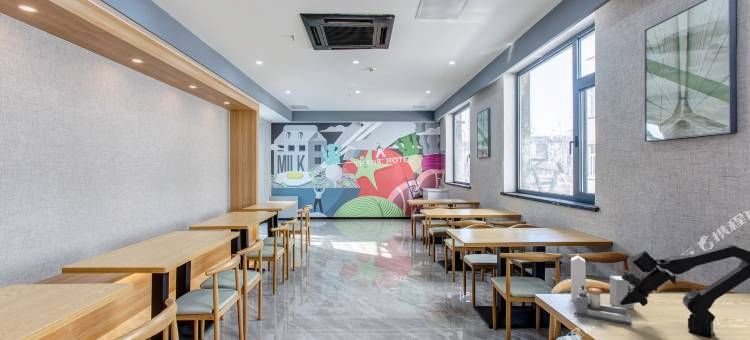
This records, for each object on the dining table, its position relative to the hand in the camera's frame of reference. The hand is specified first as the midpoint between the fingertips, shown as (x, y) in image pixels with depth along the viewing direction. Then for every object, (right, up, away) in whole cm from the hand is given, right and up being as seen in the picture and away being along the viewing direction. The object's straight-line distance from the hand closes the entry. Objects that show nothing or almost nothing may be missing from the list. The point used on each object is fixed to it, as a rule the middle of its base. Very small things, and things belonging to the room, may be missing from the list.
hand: (620, 303), depth 153 cm
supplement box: (+11, -7, +17) cm, 21 cm away
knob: (-8, -5, +5) cm, 10 cm away
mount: (-6, -7, +4) cm, 9 cm away
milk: (-4, -7, +25) cm, 26 cm away
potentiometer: (-11, +1, +8) cm, 14 cm away
